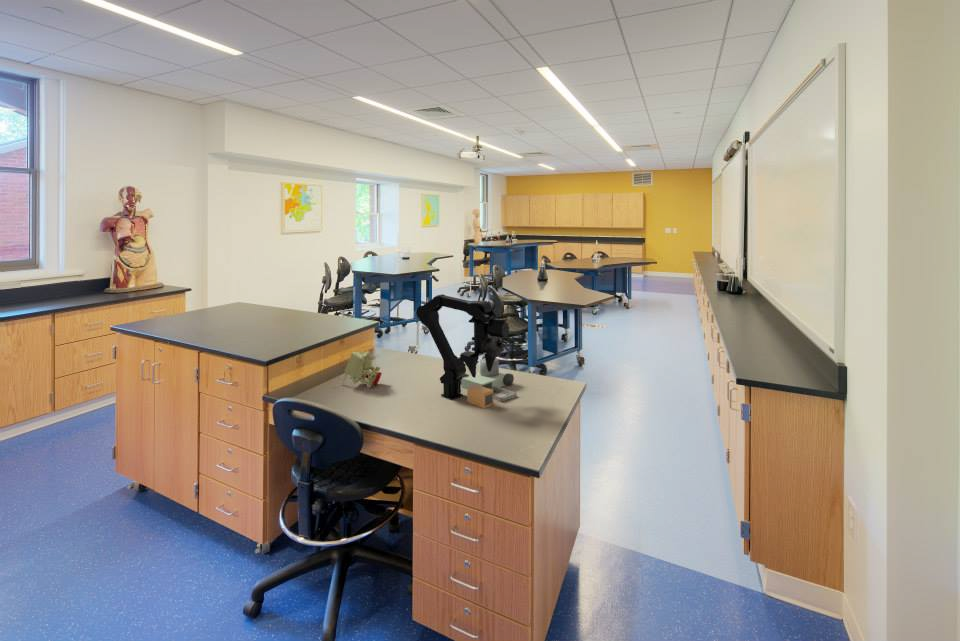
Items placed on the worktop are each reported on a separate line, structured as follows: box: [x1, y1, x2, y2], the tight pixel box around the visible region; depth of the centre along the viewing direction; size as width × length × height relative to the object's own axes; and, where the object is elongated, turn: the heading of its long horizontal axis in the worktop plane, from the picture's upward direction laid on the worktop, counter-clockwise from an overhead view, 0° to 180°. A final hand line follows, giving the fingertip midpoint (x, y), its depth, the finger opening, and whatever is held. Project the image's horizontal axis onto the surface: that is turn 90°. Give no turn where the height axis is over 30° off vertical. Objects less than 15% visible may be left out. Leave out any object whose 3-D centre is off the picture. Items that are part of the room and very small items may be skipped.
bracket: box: [493, 386, 518, 403], centre depth 197 cm, size 9×12×2 cm
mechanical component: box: [341, 350, 382, 389], centre depth 209 cm, size 8×17×20 cm, turn 89°
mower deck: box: [460, 358, 515, 391], centre depth 208 cm, size 18×15×10 cm
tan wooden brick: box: [466, 385, 494, 409], centre depth 188 cm, size 5×9×6 cm, turn 45°
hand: (481, 374), depth 188 cm, fingers open, 9 cm apart
